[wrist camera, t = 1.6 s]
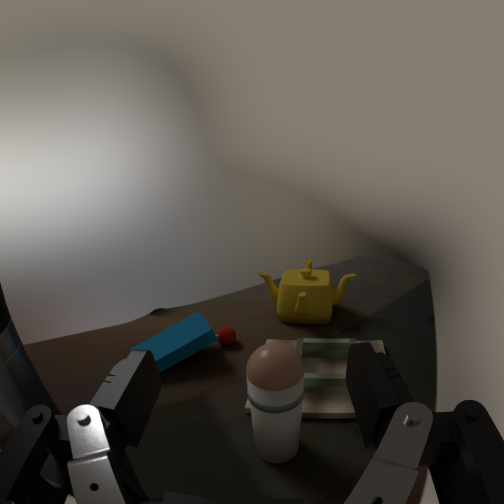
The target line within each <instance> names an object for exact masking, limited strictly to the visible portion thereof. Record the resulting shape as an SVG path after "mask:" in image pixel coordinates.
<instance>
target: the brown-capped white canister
mask: <svg viewBox="0 0 504 504" xmlns="http://www.w3.org/2000/svg"><path fill="white" fill-rule="evenodd" d="M246 375H247V383H248V386H247V393H248V399H249V401H250V408H251V416H252V424H253V432H254V439H255V447H256V452H257V454H258V456H259V457H260V458H261V459H263V460H264V461H267V462H270V463H283V462H286V461H289V460H290V459H292V458H293V457H294V456H295V455H296V454H297V452H298V449H299V439H300V429H301V417H302V404H303V397H304V390H305V385H304V363H303V360H302V358H301V356H300V355H299V353H298V352H297V351H296V350H295V349H294V348H292V347H291V346H289V345H286V344H283V343H269V344H265V345H263V346H261V347H259V348H258V349H257V350H255V351H254V353H253V354H252V355H251V356H250V358H249V360H248V363H247V367H246Z"/></svg>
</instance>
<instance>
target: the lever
mask: <svg viewBox="0 0 504 504" xmlns="http://www.w3.org/2000/svg"><path fill="white" fill-rule="evenodd" d="M235 339H236V333H235V331H234V330H233V329H232V328H230V327H222V328H221V329H219V331H218V332H217V334H216V335H215V333H214V332H213V330H212V328H211V327H210V326H209V324H208V323H207V322H206V320H205V319H204V318H203V316H202V315H201V314H200V313H199V311H198V312H196V313H195V314H193V315H191V316H189V317H188V318H186V319H184V320H182V321H180V322H179V323H177V324H175V325H173V326H171V327H170V328H168V329H166V330H164V331H162V332H161V333H159V334H157V335H155V336H153V337H152V338H150V339H148V340H146V341H144V342H142V343H141V344H139V345H137V346H135V347H133V348H131V351H132V350H133V349H140V350H150V351H151V352H152V353H153V356H154V359H155V362H156V365H157V368H158V371H159V373H160V372H162V371H163V370H165V369H167V368H169V367H171V366H173V365H174V364H176V363H178V362H180V361H182V360H183V359H185V358H187V357H189V356H191V355H192V354H194V353H196V352H198V351H199V350H201V349H203V348H204V347H206V346H208V345H210V344H211V343H213V342H215V341H219V342H220V343H221V344H222V345H231V344H232V343H233V342H234V341H235Z"/></svg>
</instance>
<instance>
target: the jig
mask: <svg viewBox="0 0 504 504" xmlns="http://www.w3.org/2000/svg"><path fill="white" fill-rule="evenodd" d="M361 342H370V343H371V345H372V347H373V349H374V351H375V352H376V353H377V352H383V353H384V354H386V353H385V350H384V346H383V343H382V340H379V341H355V339H306V338H297V341H292V340H270V339H267V341H266V344H269V343H283V344H286V345H289V346H291V347H292V348H294V349H295V350H296V351H297V352H298V353H299V355H300V356H301V358H302V360H303V363H304V385H305V390H304V397H303V404H302V417H301V418H357V417H356V414H355V411H354V408H353V404H352V401H351V398H350V395H349V392H348V389H347V385H346V368H347V361H348V354H349V347H350V345H351V344H354V343H361ZM245 412H246V413H251V408H250V401H249V399H247V402H246V405H245Z"/></svg>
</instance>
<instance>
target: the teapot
mask: <svg viewBox="0 0 504 504" xmlns="http://www.w3.org/2000/svg"><path fill="white" fill-rule="evenodd" d="M257 274H258V275H260V276H261V277H263V279H264V280H265V282H266V284H267V288H268V292H269V295H270V297H271V299H272V300H273V301H274V302H276V303H277V315H278V319H279V321H281V322H286V323H296V324H327V323H329V321H330V319H331V315H332V306H333V305H335V304H337V303H338V302H339V301H340V300H341V298H342V296H343V293H344V290H345V286H346V284H347V282H348V281H349V280H350V279H351V278H352V277H354V276H356V274H348V275H345V276H344V277H343V278H342V279H341V281H340V283H339V286H338V288H337V289H336V290H334V291H332V286H331V279H330V273H329V271H327V270H312V261H311V259H307V260H306V266H305V268H302V269H298V270H297V269H293V270H286V271H285V272H284V274H283V277H282V279H281V282H280V286H279V289H277V288H276V287H275V285H274V283H273V281H272V278H271V277H270V276H269V275H268V274H266V273H262V272H257Z"/></svg>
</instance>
